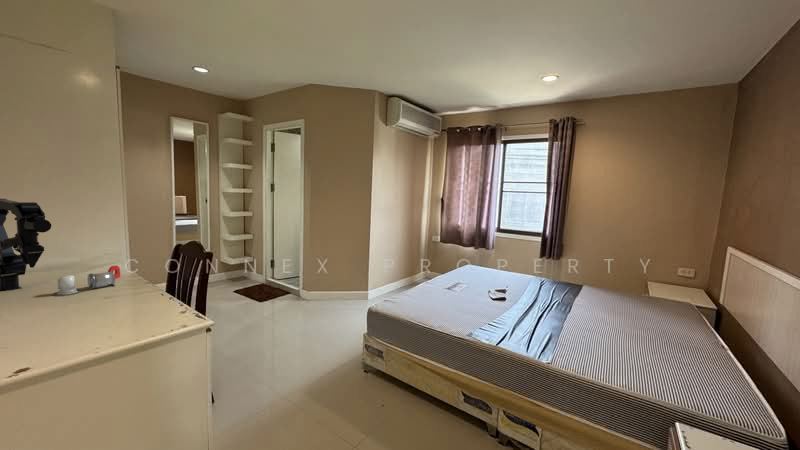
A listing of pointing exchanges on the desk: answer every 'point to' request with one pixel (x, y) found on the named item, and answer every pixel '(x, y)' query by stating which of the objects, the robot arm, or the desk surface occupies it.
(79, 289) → the flange
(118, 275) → the bracket
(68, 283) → the white knob
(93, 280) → the grey rounded block
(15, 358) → the desk surface
